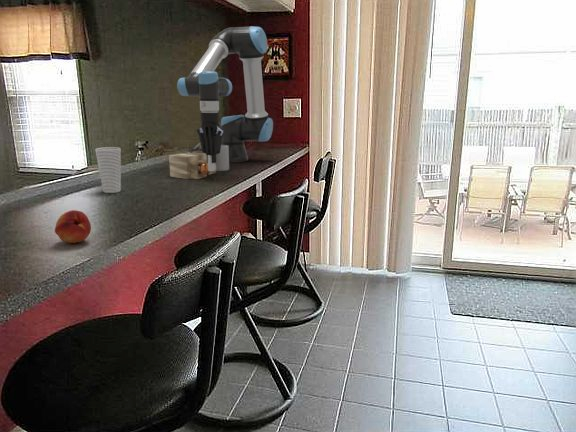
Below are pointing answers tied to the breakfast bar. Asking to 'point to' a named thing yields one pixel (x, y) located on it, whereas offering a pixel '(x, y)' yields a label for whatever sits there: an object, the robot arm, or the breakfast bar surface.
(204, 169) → the pin
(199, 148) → the plate
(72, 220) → the fruit
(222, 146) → the mug
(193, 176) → the block
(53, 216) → the breakfast bar surface
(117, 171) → the cup
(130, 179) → the breakfast bar surface
